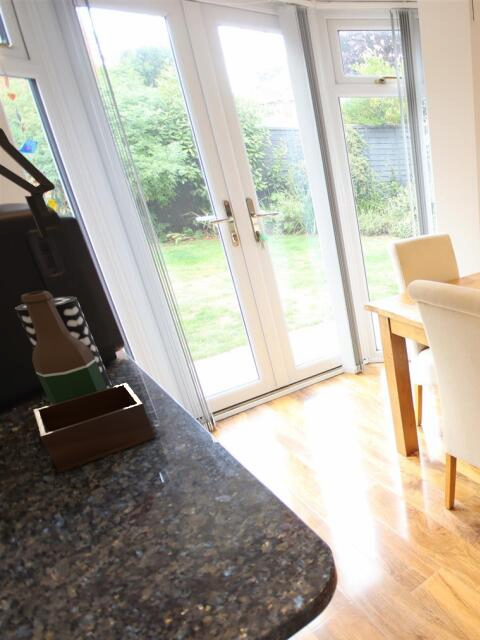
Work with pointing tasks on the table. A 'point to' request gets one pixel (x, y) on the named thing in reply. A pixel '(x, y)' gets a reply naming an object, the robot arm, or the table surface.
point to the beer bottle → (60, 353)
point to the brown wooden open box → (93, 426)
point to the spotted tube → (73, 323)
